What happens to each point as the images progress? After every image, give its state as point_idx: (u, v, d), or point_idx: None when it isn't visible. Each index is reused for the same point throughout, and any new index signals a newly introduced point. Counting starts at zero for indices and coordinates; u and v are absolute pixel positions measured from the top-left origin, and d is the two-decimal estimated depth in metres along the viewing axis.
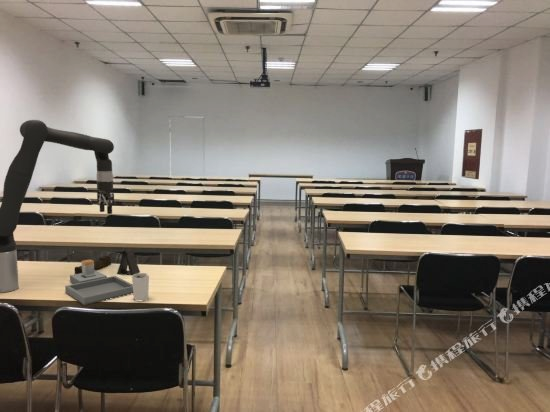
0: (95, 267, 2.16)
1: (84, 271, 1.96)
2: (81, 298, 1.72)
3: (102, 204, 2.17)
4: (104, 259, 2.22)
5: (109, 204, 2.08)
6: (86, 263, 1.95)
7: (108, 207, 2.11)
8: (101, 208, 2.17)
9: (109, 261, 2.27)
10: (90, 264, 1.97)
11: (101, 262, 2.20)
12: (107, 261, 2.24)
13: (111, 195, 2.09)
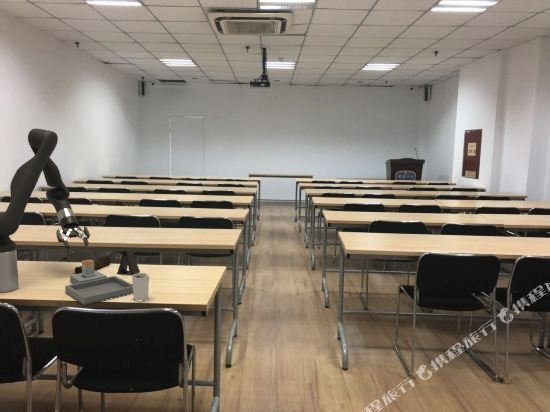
0: (95, 267, 2.16)
1: (84, 271, 1.96)
2: (81, 298, 1.72)
3: None
4: (104, 259, 2.22)
5: (89, 234, 2.11)
6: (86, 263, 1.95)
7: (85, 239, 2.09)
8: None
9: (108, 261, 2.27)
10: (90, 264, 1.97)
11: (101, 262, 2.20)
12: (107, 261, 2.25)
13: None
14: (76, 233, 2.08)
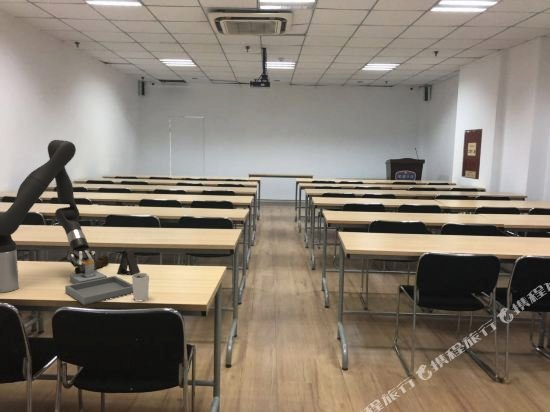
0: None
1: None
2: (81, 298, 1.72)
3: None
4: (103, 259, 2.23)
5: (97, 259, 2.02)
6: (86, 263, 1.95)
7: None
8: None
9: (107, 261, 2.27)
10: (90, 264, 1.97)
11: (100, 262, 2.21)
12: (105, 261, 2.25)
13: None
14: (85, 256, 2.01)
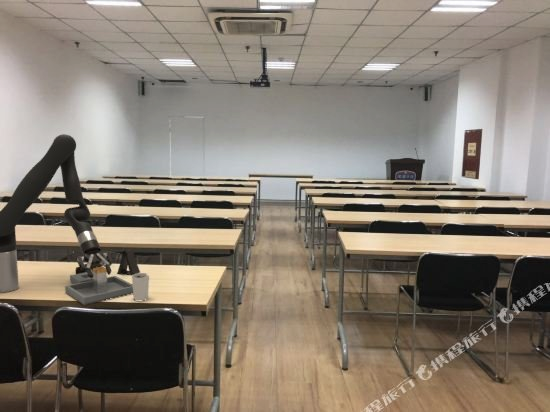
0: (94, 267, 2.17)
1: (96, 279, 1.82)
2: (81, 298, 1.72)
3: None
4: None
5: (112, 261, 1.89)
6: (98, 271, 1.82)
7: (108, 266, 1.87)
8: None
9: None
10: (102, 272, 1.83)
11: None
12: None
13: None
14: (98, 259, 1.87)
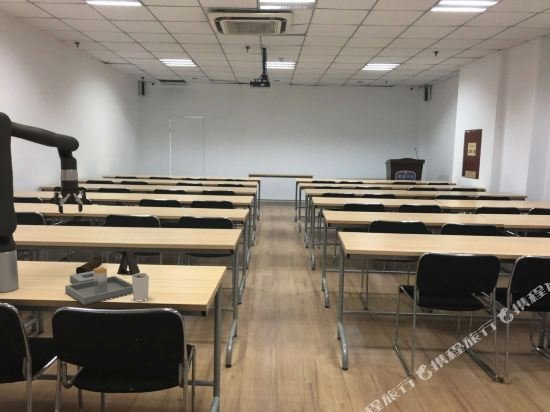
0: (93, 266, 2.18)
1: (96, 280, 1.82)
2: (81, 298, 1.72)
3: None
4: (98, 258, 2.24)
5: (86, 201, 2.11)
6: (98, 271, 1.81)
7: (80, 205, 2.10)
8: None
9: (101, 260, 2.28)
10: (102, 272, 1.83)
11: (96, 261, 2.22)
12: (100, 260, 2.26)
13: None
14: (73, 198, 2.07)
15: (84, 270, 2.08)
